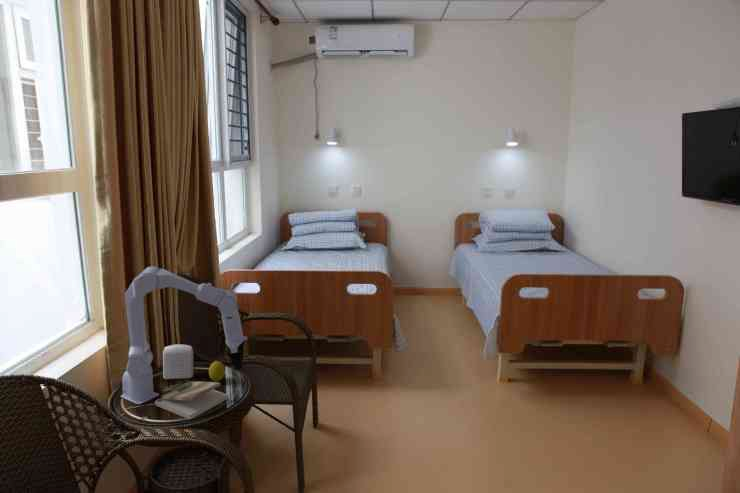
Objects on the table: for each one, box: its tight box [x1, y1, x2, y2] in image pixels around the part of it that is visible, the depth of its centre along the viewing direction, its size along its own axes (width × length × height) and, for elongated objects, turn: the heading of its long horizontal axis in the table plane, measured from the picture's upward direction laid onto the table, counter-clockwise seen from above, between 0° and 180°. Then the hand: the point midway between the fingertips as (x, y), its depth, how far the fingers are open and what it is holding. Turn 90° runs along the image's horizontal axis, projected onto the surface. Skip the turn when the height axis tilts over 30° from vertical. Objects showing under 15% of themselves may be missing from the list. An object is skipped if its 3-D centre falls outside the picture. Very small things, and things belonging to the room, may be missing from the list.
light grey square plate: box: [154, 389, 229, 420], centre depth 166 cm, size 16×16×2 cm
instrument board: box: [160, 380, 221, 401], centre depth 166 cm, size 14×13×3 cm
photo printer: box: [162, 343, 194, 380], centre depth 182 cm, size 10×4×12 cm, turn 103°
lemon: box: [208, 360, 226, 382], centre depth 180 cm, size 6×6×8 cm
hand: (239, 364), depth 172 cm, fingers open, 7 cm apart
